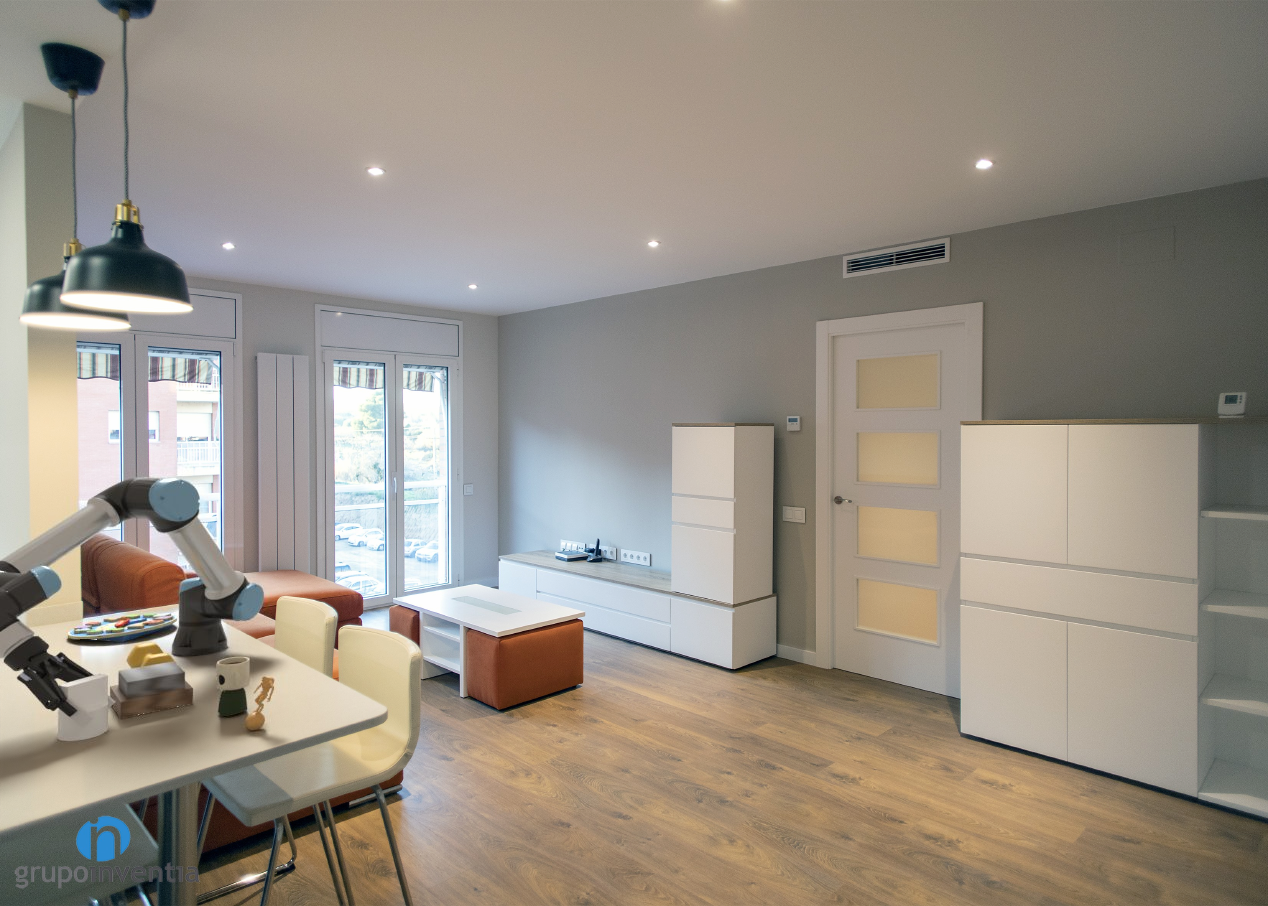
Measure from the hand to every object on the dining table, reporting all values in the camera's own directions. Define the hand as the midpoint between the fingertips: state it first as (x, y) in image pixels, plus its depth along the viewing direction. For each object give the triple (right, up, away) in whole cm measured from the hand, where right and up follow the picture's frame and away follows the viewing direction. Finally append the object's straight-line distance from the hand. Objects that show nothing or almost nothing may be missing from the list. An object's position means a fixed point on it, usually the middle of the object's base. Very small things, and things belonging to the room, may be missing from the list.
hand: (99, 714), depth 161 cm
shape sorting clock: (-54, -3, +84) cm, 100 cm away
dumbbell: (-14, -4, +38) cm, 40 cm away
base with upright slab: (-3, -4, -1) cm, 5 cm away
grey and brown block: (-1, -4, +18) cm, 19 cm away
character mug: (+23, -5, +12) cm, 27 cm away
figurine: (+34, -5, +4) cm, 35 cm away
